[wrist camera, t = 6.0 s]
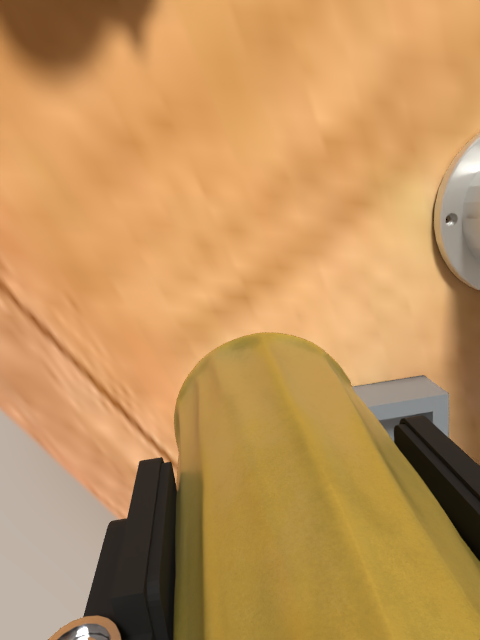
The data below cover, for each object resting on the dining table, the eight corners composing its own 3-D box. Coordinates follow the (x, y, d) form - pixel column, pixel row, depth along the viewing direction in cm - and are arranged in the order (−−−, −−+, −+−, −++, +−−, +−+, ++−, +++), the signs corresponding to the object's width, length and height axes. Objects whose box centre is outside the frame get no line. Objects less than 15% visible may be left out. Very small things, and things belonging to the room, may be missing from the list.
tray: (423, 375, 35) (448, 393, 31) (425, 540, 39) (447, 572, 35) (224, 407, 33) (228, 430, 30) (248, 574, 38) (254, 610, 34)
